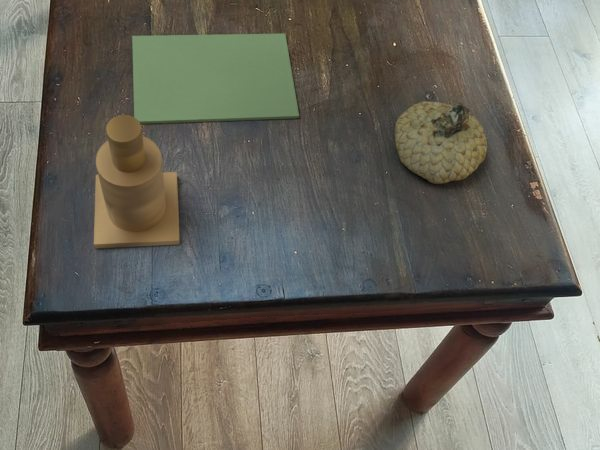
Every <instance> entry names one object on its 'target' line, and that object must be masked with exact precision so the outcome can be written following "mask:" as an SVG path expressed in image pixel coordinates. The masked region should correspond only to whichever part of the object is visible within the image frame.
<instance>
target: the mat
mask: <svg viewBox="0 0 600 450" xmlns="http://www.w3.org/2000/svg"><path fill="white" fill-rule="evenodd" d="M131 41H132V42H131V43H132V44H131V47H132V82H133V83H132V84H133V87H132V88H133V89H132V90H133V117H134V118H136V119H137V120H138V121H139V122H140V124H141V125H147V124H148V125H150V124H174V123H175V124H177V123H178V124H179V123H205V122H231V121H233V122H235V121H260V120H287V119H288V120H289V119H299V118H300V112H299V106H298V101H297V95H296V89H295V88H296V87H295V83H294V77H293V76H294V75H293V72H292V66H291V65H292V64H291V59H290V54H289V48H288V41H287V35H286V33H230V34H225V33H224V34H221V33H220V34H164V35H132V36H131Z"/></svg>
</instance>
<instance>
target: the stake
mask: <svg viewBox="0 0 600 450" xmlns="http://www.w3.org/2000/svg"><path fill="white" fill-rule="evenodd" d="M105 131H106V137H107V140H106V141H105V142H104V143H103V144H102V145H101V146H100V147H99V149H98V151H97V153H96V157H95V166H96V170H97V174H95V183H94V184H95V186H94V187H95V188H94V189H95V190H94V217H93V218H94V221H93V247H94V249H112V248H113V249H115V248H136V247H153V246H154V247H155V246H157V247H158V246H174V245H175V246H176V245H177V246H178V245H180V240H181V239H180V220H179V219H180V215H179V190H178V189H179V188H178V172H177V171H164V168H163V159H162V152H161V149H160V148H159V146H158V145H157V144H156V143H155V142H154V141H153V140H151V139H150V138H148V137H147V136H145V135H143V129H142V124H140V122H139V121H138V120H137V119H136V118H134V115H133V116H132V115H129V114H119V115H116V116H114V117H112V118H111V119H110V120H109V121H108V122H107V124H106V126H105Z"/></svg>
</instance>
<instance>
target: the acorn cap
mask: <svg viewBox="0 0 600 450" xmlns="http://www.w3.org/2000/svg"><path fill="white" fill-rule="evenodd" d="M470 112H471V110H470V108H468V107H467V106H466V105H465V104H463V102H458V103H456V104H455V105H451V104H449V103H444V102H439V101H432V100H431V101H430V100H429V101H426V100H422V101H420V102H418V103H413V104H412V105H411V106H410V107H408V108H407V109H406V110H405V111H404V112H402V113H401V114H400V115H399V116H398V118H397V119H396V122H395V124H394V137H395V138H394V144H395V149H396V151H397V153H398V154H397V155H398V157H399V160H400V162H401V163H402V164H403V165H404V167H406V168H407V169H408V170H409V171H410V172H412V173H414V174H416V175H417V176H419V177H421V178H422V179H425V180H426V181H428V182H429V183H430V184H435V185H437V184H447V183H449V182H452V181H460V180H461V181H462V180H464V179H466V178H467V177H468V176H470V175H471V174H472V173H473V172H475V171H476V170H477V169H478V167H479V166H480V164H481V163H483V162H484V160H485V159H486V156H487V153H488V151H487V149H488V142H487V137H486V135H485V130H484V127H483V126H482V124H481V123H480V121H479V120H478V119H477V118H476V117H475V116H473V115H472V114H470Z"/></svg>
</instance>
